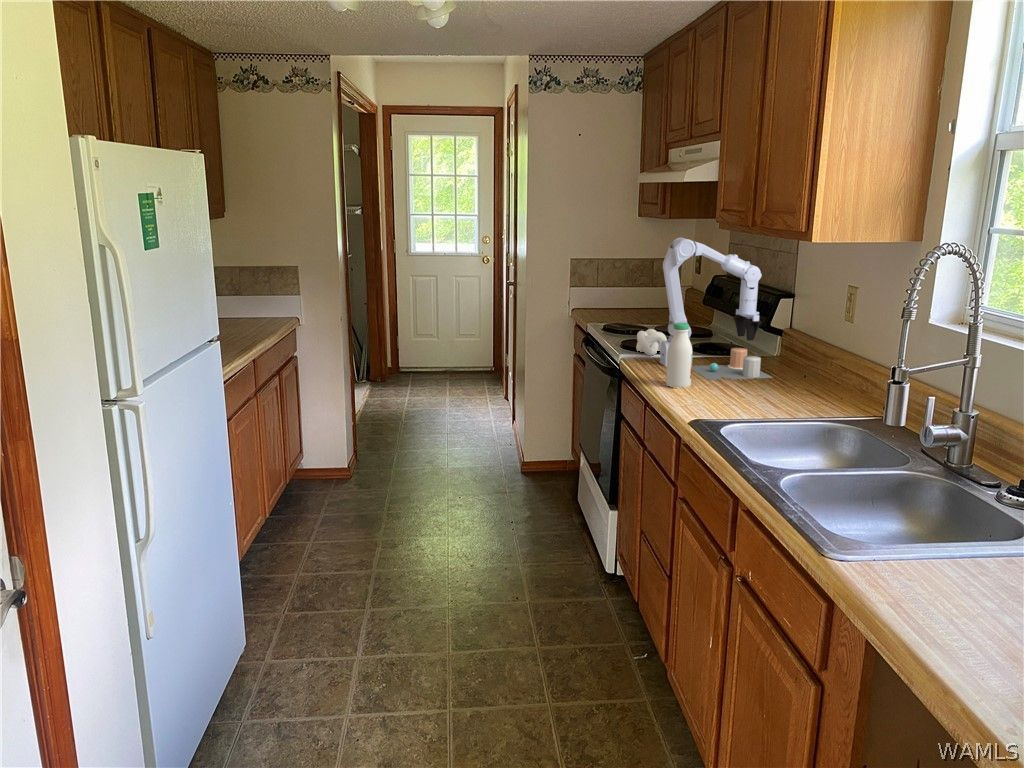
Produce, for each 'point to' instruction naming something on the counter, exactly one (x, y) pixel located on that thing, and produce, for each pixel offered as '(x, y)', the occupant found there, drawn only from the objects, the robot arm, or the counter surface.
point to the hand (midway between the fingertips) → (745, 338)
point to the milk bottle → (679, 358)
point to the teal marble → (714, 367)
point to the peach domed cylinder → (737, 357)
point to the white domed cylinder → (751, 366)
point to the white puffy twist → (650, 341)
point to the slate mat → (724, 372)
